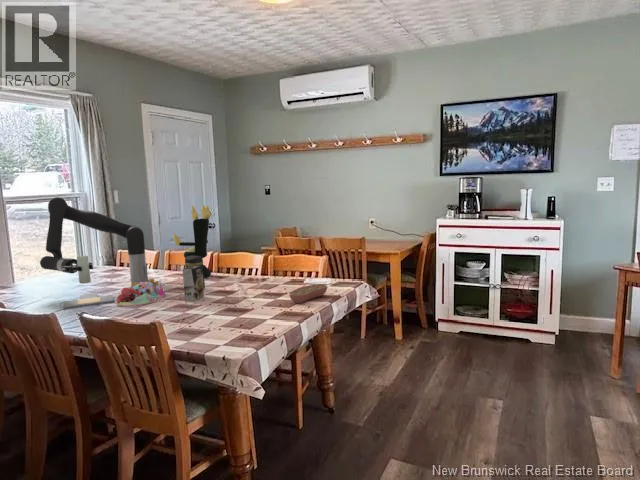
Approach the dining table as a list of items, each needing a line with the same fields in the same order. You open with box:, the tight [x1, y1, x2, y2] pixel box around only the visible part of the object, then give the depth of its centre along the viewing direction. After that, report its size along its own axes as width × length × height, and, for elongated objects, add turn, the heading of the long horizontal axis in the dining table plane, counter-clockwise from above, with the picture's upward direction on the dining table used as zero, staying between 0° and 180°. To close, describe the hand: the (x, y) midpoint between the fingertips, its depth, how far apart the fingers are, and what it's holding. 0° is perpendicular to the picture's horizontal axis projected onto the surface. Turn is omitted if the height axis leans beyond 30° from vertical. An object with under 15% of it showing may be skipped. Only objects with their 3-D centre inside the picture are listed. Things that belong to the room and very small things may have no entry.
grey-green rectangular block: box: [76, 255, 92, 284], centre depth 224 cm, size 5×5×13 cm
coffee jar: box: [184, 255, 206, 289], centre depth 244 cm, size 10×8×19 cm
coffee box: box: [182, 266, 205, 302], centre depth 224 cm, size 9×6×16 cm
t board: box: [62, 292, 115, 310], centre depth 230 cm, size 22×23×1 cm
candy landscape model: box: [115, 277, 166, 307], centre depth 229 cm, size 25×24×9 cm
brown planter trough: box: [288, 283, 328, 304], centre depth 215 cm, size 23×10×5 cm, turn 142°
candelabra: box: [173, 203, 212, 279], centre depth 274 cm, size 19×22×45 cm
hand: (86, 267), depth 222 cm, fingers closed on grey-green rectangular block, 5 cm apart
